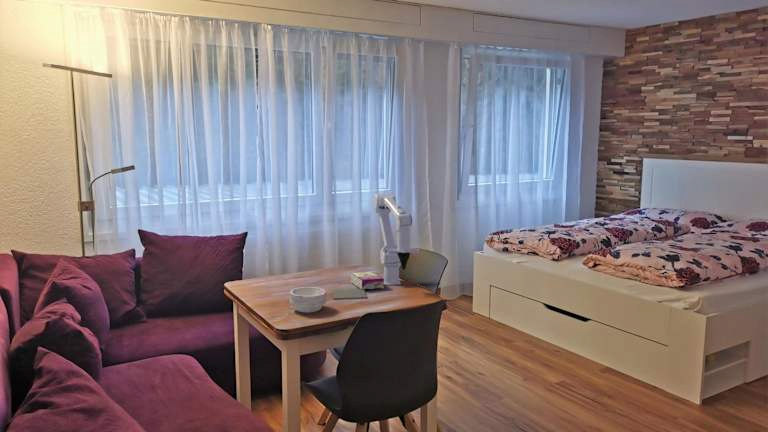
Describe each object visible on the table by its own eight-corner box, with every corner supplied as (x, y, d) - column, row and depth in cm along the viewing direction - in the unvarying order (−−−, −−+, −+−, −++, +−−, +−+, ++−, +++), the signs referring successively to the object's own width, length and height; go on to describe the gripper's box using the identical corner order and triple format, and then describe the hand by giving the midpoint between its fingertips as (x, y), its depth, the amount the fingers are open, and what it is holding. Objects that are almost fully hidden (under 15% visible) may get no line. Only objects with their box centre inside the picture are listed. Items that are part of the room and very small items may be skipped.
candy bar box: (384, 289, 278) (371, 281, 293) (384, 278, 277) (372, 271, 292) (361, 290, 274) (350, 282, 289) (361, 279, 273) (350, 272, 288)
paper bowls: (334, 309, 247) (334, 291, 246) (304, 317, 236) (304, 298, 235) (311, 301, 258) (311, 284, 256) (282, 309, 247) (282, 290, 246)
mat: (332, 290, 275) (332, 289, 275) (363, 289, 277) (363, 288, 276) (333, 299, 261) (333, 298, 261) (366, 298, 263) (366, 297, 263)
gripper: (388, 241, 267) (388, 271, 269) (420, 241, 269) (420, 270, 271) (387, 239, 274) (387, 267, 276) (418, 238, 276) (417, 267, 278)
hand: (403, 269), depth 274 cm, fingers closed
